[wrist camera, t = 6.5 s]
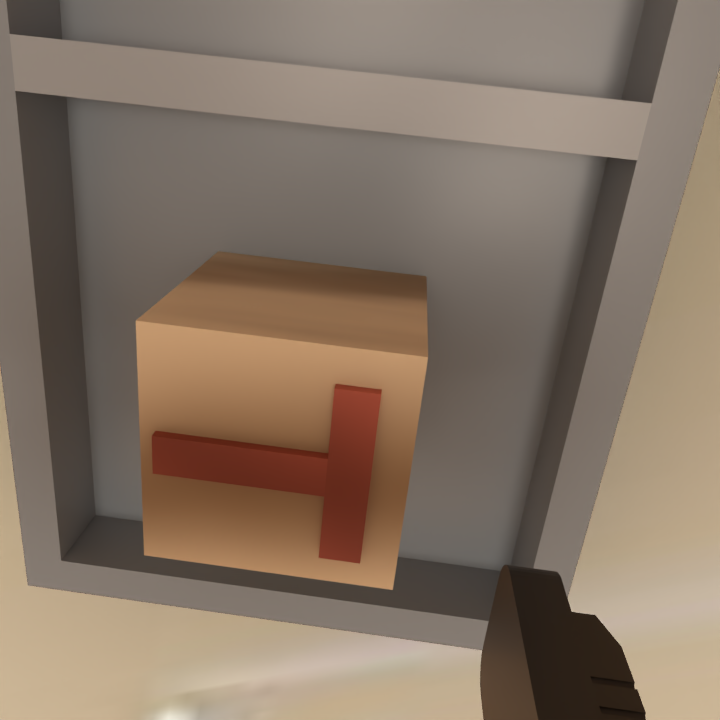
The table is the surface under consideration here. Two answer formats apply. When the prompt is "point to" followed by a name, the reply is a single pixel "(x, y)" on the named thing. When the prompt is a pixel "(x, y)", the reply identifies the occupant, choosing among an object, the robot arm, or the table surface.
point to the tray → (344, 256)
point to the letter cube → (281, 416)
